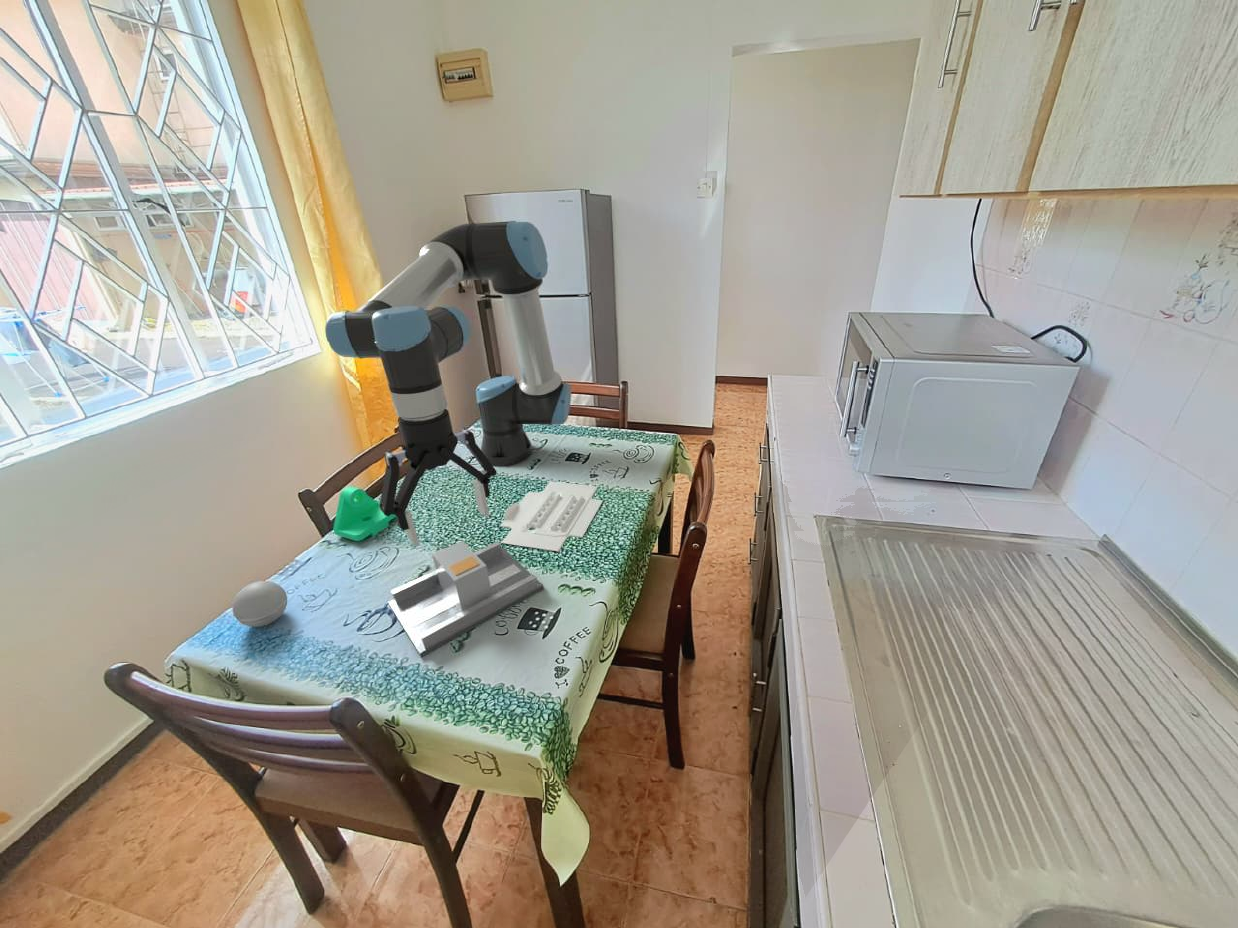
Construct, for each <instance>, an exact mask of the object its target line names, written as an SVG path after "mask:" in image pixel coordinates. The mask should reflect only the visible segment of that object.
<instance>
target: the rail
mask: <svg viewBox="0 0 1238 928" xmlns="http://www.w3.org/2000/svg"><path fill="white" fill-rule="evenodd" d="M501 545H502V543H501V542H499V541H495V542H494V543H491V544H489V545H487V546H484V547H483V548H480V549H478V550H477V551H473V552H474V553H475V554H476V555H477V556H478V557H479V558H480V559H481V560H482V561H483V562H484V564H485V565H486V567H487V571H488V576H489V581H490V586H491V590H492V595H493V596H491V597H489V598H487V599H485V600H483V601H481V602H480V603H478V604H476V605H474V606H472V607H470V608H468V609H466V610H464V611H463V612H460V611H459V609H458V608H457V607H456V606H455V604H454V603H453V602H452V601H451V599H450V598H449V597H448V596H447V594H446V593H445V592H444V590H443V589H442V588H441V586H440V582H439V578H438V575H437V571H436V569H435V570H433V571H430V572H429V573H427V574H424V575H421V576H420V577H418V578H416V579H414V580H411V581H410V582H408V583H404V584H403V585H401V586H399V587H396V588H394V589H392V590H390V591H391V595H392V597H393V599H392V600H390V601H388V605H389V607H390V608H391V611H392V612H393V614H394V616H395V617H396V619H397V620H398V622H399V624H400V626H401V627H402V629H403V630H404V632H405V633H406V636H407V637H408V638H409V641H410V642H411V644H412V645H413V647H414V649H415V650H416V652H417V653H418V655H419V657H420V658H423V657H425V656H427V655H428V654H430V653H432V652H434V651H436V650H437V649H438V650H439V648H441V647H443V646H445V645H446V644H448V643H450V642H451V641H453V640H455V639H457V638H459V637H461V636H463V635H464V634H466V633H468V632H470V631H471V630H474V629H475V628H477V627H479V626H481V625H482V624H484V623H486V622H488V621H490V620H492V619H493V618H495V617H497V616H499V615H500V614H502V613H504V612H506V611H507V610H509V609H511V608H513V607H515V606H517V605H519V604H520V603H522V602H524V601H525V600H527V599H529V598H530V597H533V596H534V595H536V594H538V593H540V592H541V591H543V590H544V589H545V588H544V584H543V583H542V582H540V581H539V579H537V578H538V577H537V576H536V575H535V574H533V573H531V572H530V571H528V569H526V568H525V567H524V566H523V565H522V564H521V563H520V562H519V561H518V560H517V559H516V558H514V557H513V556H512V555H511V554H510V553H509V552H508V551H507V550H506V549H505V548H504V547H502V546H501Z"/></svg>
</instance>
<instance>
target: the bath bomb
mask: <svg viewBox="0 0 1238 928" xmlns="http://www.w3.org/2000/svg"><path fill="white" fill-rule="evenodd" d="M287 605H288V596H287V593H286V591H285V589H284V587H282V586H281V585H280V584H278V583H276V582H274V581H269V580H260V581H259V580H258V581H254V582H250V583H249V584H248V585H245V586H244V587H243V588H241V590H240V591H238V592H237V594H236V595H235V597H234V598H233V603H232V614H233V616H234V617H235V619H236V621H238V622H240V623H241V624H242V625H245V626H246V627H253V628H257V627H265V626H267V625H270V624H272V623H274V622H276V621H277V620H278V619H279V618H280V617H281V616H282V615H283V614H284V612H285V610H286V607H287Z"/></svg>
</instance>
